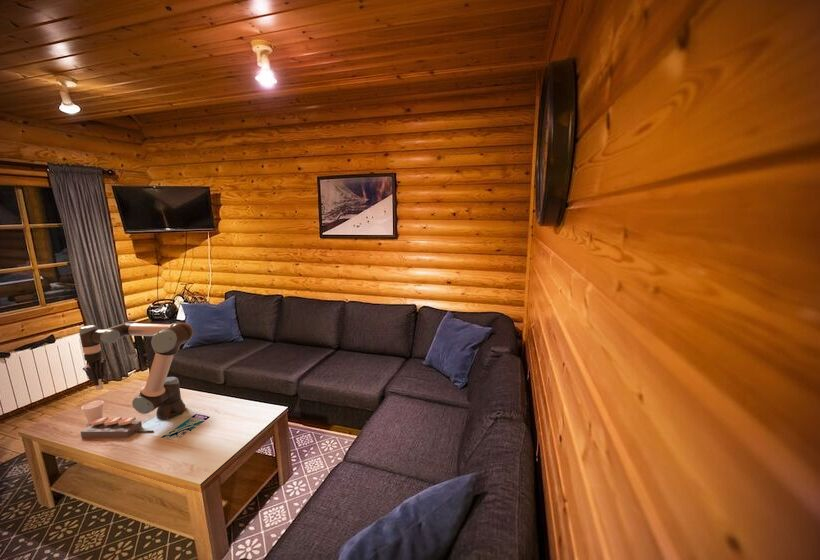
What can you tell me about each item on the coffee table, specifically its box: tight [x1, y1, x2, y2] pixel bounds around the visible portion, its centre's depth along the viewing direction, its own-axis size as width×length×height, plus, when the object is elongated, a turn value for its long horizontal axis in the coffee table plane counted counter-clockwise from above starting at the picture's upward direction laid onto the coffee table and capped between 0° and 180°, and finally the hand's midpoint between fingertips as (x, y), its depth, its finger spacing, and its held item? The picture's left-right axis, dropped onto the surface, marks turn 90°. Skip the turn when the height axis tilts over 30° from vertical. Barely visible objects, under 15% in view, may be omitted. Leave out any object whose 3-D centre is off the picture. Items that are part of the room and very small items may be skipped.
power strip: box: [80, 420, 155, 439], centre depth 191 cm, size 36×10×5 cm, turn 90°
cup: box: [80, 399, 104, 424], centre depth 202 cm, size 10×10×11 cm
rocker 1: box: [89, 416, 109, 426], centre depth 192 cm, size 7×4×2 cm, turn 90°
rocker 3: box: [118, 416, 137, 426], centre depth 192 cm, size 7×4×2 cm, turn 90°
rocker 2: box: [104, 416, 123, 426], centre depth 192 cm, size 7×4×2 cm, turn 90°
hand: (99, 389), depth 197 cm, fingers closed
